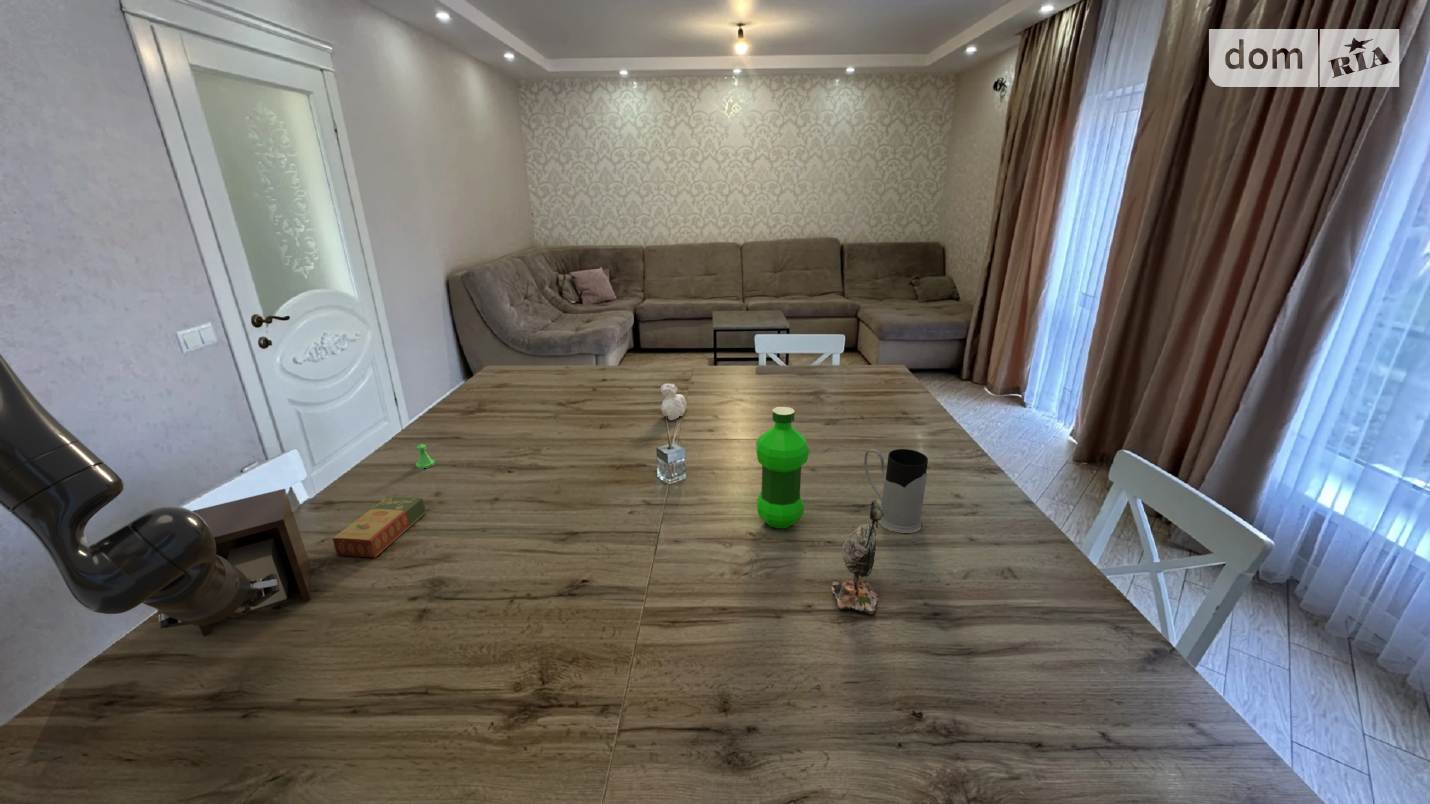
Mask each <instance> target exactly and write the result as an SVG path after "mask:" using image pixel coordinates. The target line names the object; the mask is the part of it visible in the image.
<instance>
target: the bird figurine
mask: <svg viewBox="0 0 1430 804" xmlns="http://www.w3.org/2000/svg"><path fill="white" fill-rule="evenodd" d="M883 516H884V509H883V506H882V502H881V500H879V499H877V498H874V499H872V500H871V506H870V511H869V520H871V524H870V523H866V524H864V523H863V524H861V525H859V526H858V527H857V528H856V529H854V530H853V531H852V532H851V533H850V534H849V535H848V536H847V538H846V539H845V541H844V543H843V544H842V558H843V562H844V566H845V568H846V569H847V571H848V572H849V573H851V574H853V580H850V579H842V578H835V579H832V586H831V592H832V593H833V595H834V599H836V602H837V607H838V608H840V609H841V610H846V609H850V610H851V608H852V609H853V610H855V611H859V612H865V613H866V614H869V615H872V614H874V613H875V612H876V606H877V602H878V600H879V598H878V597H879V594H878V592H877V590H875V589H874V588H873V587H872V585H871V582H869V581H868V580H867V578H868V577H869V576H870V575H871V574H872V570H873V567H874V564H875V556H876V550H877V549H876V548H877V545H876V541H877V532H876V529H879V522H878V521H879V520H880V519H881V518H882V517H883ZM874 525H875V526H874ZM875 527H876V529H875ZM844 580H845V581H844ZM853 581H854V582H853Z"/></svg>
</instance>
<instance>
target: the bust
mask: <svg viewBox="0 0 1430 804" xmlns="http://www.w3.org/2000/svg"><path fill="white" fill-rule="evenodd" d="M660 392H661V393H662V396H665V397H664V399H663V400H662V403H661V408H660V409H661V412H662V413H661V414H662V415H663V416H664V417H665V416H668V417H667V419H668V420H669V421H674V420H678V419H677V418H678V416H681V417H683V416H684V415H685V412H686V410H687V400H686V398H685V396H684V395H683V394H679V393H677V392H678V387H677V386H676V385H675V383H671V382H670V383H663V384H662V385H661V386H660ZM683 414H684V415H683Z"/></svg>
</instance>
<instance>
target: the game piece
mask: <svg viewBox="0 0 1430 804" xmlns="http://www.w3.org/2000/svg"><path fill="white" fill-rule="evenodd" d="M416 451H417V452H419V457H418V459H417V460H418V461H417V462H416V464H415V468H416V467H417V468H416V469H419V470H425V469H424V468H427V469H430V468H432V467H434V466H435V464H434V463H436V462H435V460H434V459H432V458H431V457H430V455H429V454H428V453H427V452H426V451H427V445H426V444H423V443H420V444H418V445H417V446H416ZM433 465H434V466H433ZM431 466H432V467H431ZM429 467H430V468H429Z"/></svg>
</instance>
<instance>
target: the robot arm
mask: <svg viewBox="0 0 1430 804" xmlns="http://www.w3.org/2000/svg"><path fill="white" fill-rule="evenodd" d="M125 487H126V484H125V481H124V480H123V478H122V477H121V476H120V475H119V473H117V472H116V471H115V470H114V469H113V468H112V467H111V466H110V465H108V464H107V463H106V462H105V461H104V459H102V458H101V457H100V456H99V455H97V454H96V453H95V452H94V451H93V450H92V449H91V448H89V447H88V446H87V445H86V444H85V443H84V442H83V441H82V440H80V438H79V437H78V436H77V435H75V434H74V433H73V432H71V430H69V429H68V428H67V427H66V426H65V425H64V424H63V423H62V422H60V420H59V419H58V418H56V417H55V416H54V415H53V414H52V413H51V412H50V411H49V409H47V408H46V407H45V406H44V405H43V404H42V403H41V402H40V401H39V399H37V397H36V396H35V395H34V394H33V393H32V392H31V390H30V389H29V388H28V387H27V385H26V384H25V383H24V382H23V381H22V380H21V378H20V377H19V376H18V374H17V373H16V372H15V371H14V369H13V368H12V366H10V364H9V363H8V361H7V360H6V359H5V358H4V356H3V355H2V354H1V353H0V507H2V508H3V509H4V510H5V511H6V512H8V513H10V514H11V516H13V517H14V518H15V519H16V520H18V522H20V523H21V524H22V525H23V526H24V527H25V528H26V529H27V530H28V532H29V533H31V535H32V536H33V537H34V538H35V539H36V540H37V542H38V543H39V545H40V546H41V547H42V549H43V550H44V552H45V553H46V554H47V556H48V558H49V559H50V561H51V563H52V565H53V566H54V568H55V570H56V572H57V574H58V576H59V578H60V580H61V582H62V583H63V585H64V587H65V589H66V590H67V592H68V593H69V595H70V596H71V598H72V599H73V600H74V601H75V602H76V603H77V604H78V605H80V606H81V607H83V608H84V609H86V610H88V611H91V612H94V613H97V614H104V615H118V614H123V613H126V612H129V611H131V610H133V609H135V608H137V607H138V606H140V605H141V604H143V605H145V606H148V607H150V608H153V609H155V610H156V611H157V612H158V623H159V628H160V629H168V628H172V627H180V626H181V627H182V626H188V625H191V626H199V625H208V624H212V623H213V624H216V623H218V622H220V621H222V620H225V619H227V618H231V619H238V618H241V617H244V616H247V614H248V612H250V611H252V610H251V608H250V607H255V606H257V605H259V604H260V603H262V602H263V601H265V600H266V599H268V598H270V597H271V596H273V595H274V594H276V593H277V592H279V591H280V590H279V585H278V580H277V574H270V575H268V576H266V577H265V578H263V579H260V580H258V582H257V581H256V580H255V579H253V578H247V577H246V576H245V575H244V574H243V572H241V571H240V570H239V569H238V568H236V567H235V566H234V565H232V564H231V563H230V562H228V561H227V560H226V559H224V558H222V557H221V556H218V555H216V542H215V539H214V535H213V533H212V531H211V529H210V528H209V526H208V525H207V523H206V522H205V521H204V520H203V519H202V518H201V517H200V516H199V515H197V514H196V513H194V512H193V511H194V510H191V509H189V508H186V507H183V506H177V505H165V506H158V507H155V508H152V509H149V510H147V511H145V512H143V513H142V514H140V515H138V516H137V517H135V518H133V519H132V520H130V521H129V522H126V523H125V524H123V525H122V526H120V527H118V528H116V529H115V530H113V531H112V532H110V533H109V534H107V535H105V536H103V537H102V538H100V539H98V540H97V541H95V542H93V543H90V541H89V540H88V538H87V534H86V533H87V527H88V525H89V523H90V522H91V521H92V520H93V519H94V518H95V516H96V515H97V514H99V513H100V512H101V511H102V510H103V509H105V508H106V507H107V506H108V505H110V504H111V503H112V502H113V501H114V500H116V499H117V498H118V497H119V496H120V495H121V494H122V493H123V491H124V489H125Z"/></svg>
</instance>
